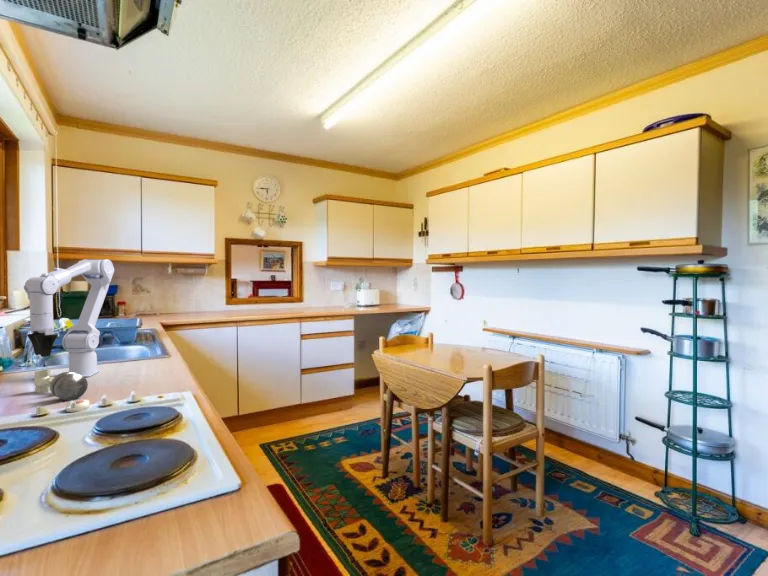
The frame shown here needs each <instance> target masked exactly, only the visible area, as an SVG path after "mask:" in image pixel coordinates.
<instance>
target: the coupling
mask: <svg viewBox="0 0 768 576" xmlns="http://www.w3.org/2000/svg"><path fill="white" fill-rule="evenodd" d="M54 377H55V378H54V379H53V380H52V382H51V384H50V391H49V392H51V394H52V395H53V396H54V397H56V398H59V399H61V400H63V401H69V402H72V401H76V400H79V399H80V398H81V397H82V396H83V395H84V394H85V393H86V391H87V390H88V384H89V383H88V381H87V377H83V376H82V375H79V374H76V373H74V372H69V371H64V372H61V373H59V374H57V375H55V376H54Z"/></svg>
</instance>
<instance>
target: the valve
mask: <svg viewBox="0 0 768 576" xmlns="http://www.w3.org/2000/svg"><path fill="white" fill-rule="evenodd" d="M55 377H56V376H51V370H50V369H41V370H36V371H34V378H35V379H34V381H33V385H34V393H36V394H43V393H49V392H51V391H50V384H51V382H52V380H53V379H54V378H55Z"/></svg>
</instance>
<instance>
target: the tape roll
mask: <svg viewBox="0 0 768 576" xmlns="http://www.w3.org/2000/svg"><path fill="white" fill-rule="evenodd" d="M74 401H75V402H76V404H77V405H80V406H82V407H77V408H73V409H70V408H67V407H69V406H70V402H71V401H69V402H66V404H65V411H66V412H67V413H75V412H82V411H85V410H88V409H89V408H90V400H89V399H76V400H74Z"/></svg>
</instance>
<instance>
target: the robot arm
mask: <svg viewBox="0 0 768 576" xmlns="http://www.w3.org/2000/svg"><path fill="white" fill-rule="evenodd" d="M114 273H115V268H114V264H113V262H112V261H111V260H110V259H108V258H107V259H105V258H104V259H87V258H86V259H82V260H78V262H76V263H75V264H73V265H71V266H69V267H67V268H65V269H64V268H60V267H54V268H52V271H50V272H43V273H42V274H41V275H40V276H33V277H30V278H28V279H27V280H26V281H25V284H24V285H23V289H24V291H25V292H26V294H27V299H28V300H29V325H30V326H29V327H28V328H25V332H29V331H31V333H28V334H26V337H27V338H28V340H30V342H31V346H32V349H33V352H34V355H35V356H40V357H41V358H44V357H50V356H51V354H52V352H53V351H52V350H53V345H54V343H55V341H56V339H57V338H58V334H57V333H54V332H55V331H54V330H55V326H54V301H53V299H54V298H53V295H54V294H55V293H56V292H57V290H58V289H59V288H61V287H63V286H65V285H67V284H69V283H71V281H72V278H75V277H77V276H80V275H81V276H82V277H83V279H84V280H85V281H86V282H87V283H88V284H90V289H89V291H88V294H87V296H86V300H85V302H84V305H83V308H82V310H81V313H80V315H79V318H78V321H77V323H76V324H74V325H73V326H71V327H69V328H68V330H67V332H66V334H64V336H63V337H62V341H61V344H62V345H61V346H62V348H63V349H64V350H66V351H65V352H66V353H68V372H74V373H76V374H79V375H82V376H83V377H85V378H88V377H91V376H93V375H95V374H97V373H100V372H101V369H98V355H97V353H96V348H98V346H99V343H100V334H101V332H100V330H98V328H97V327H96V324H97V321H98V320H99V315H100V313H101V309H102V308H103V304H104V301H105V298H106V296H107V293H108V291H109V287H110V283H111V281H112V278H113V275H114Z"/></svg>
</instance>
